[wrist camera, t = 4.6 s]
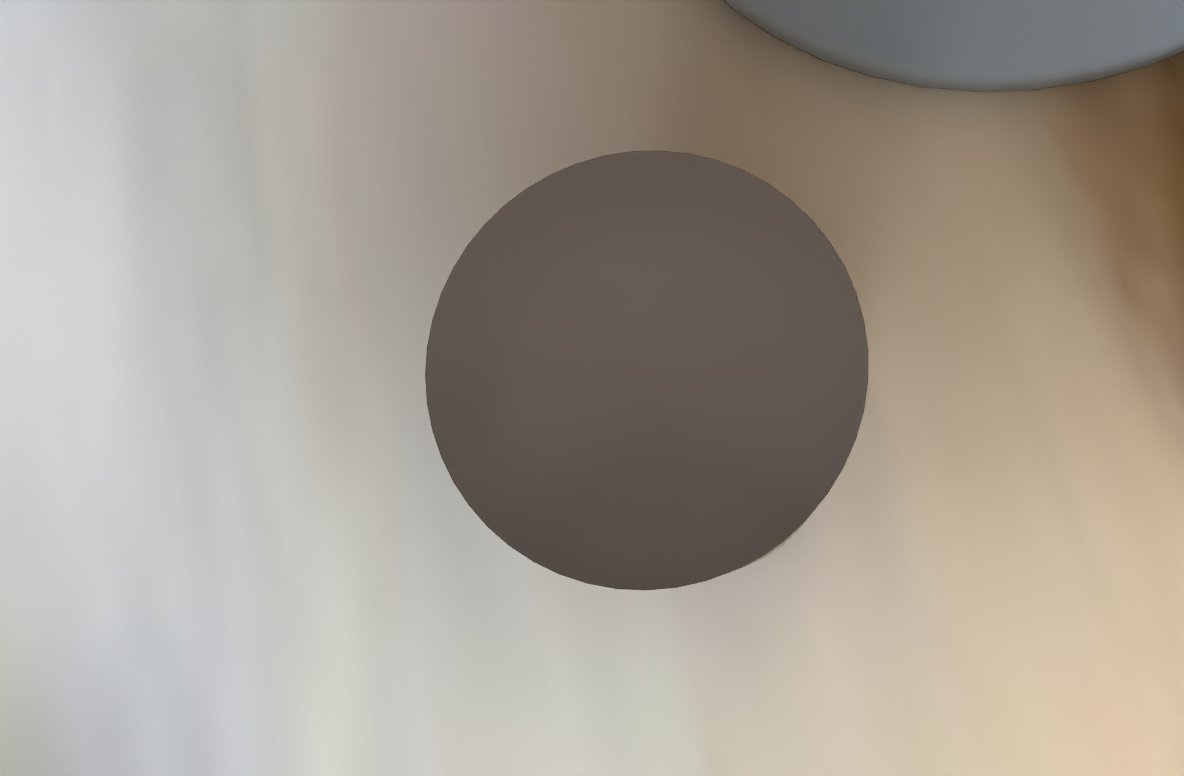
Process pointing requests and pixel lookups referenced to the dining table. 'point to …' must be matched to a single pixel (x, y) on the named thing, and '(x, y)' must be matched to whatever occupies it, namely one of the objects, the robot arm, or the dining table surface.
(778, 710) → the dining table surface
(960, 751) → the dining table surface
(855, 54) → the duct base
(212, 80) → the dining table surface
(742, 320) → the grey rounded cylinder
